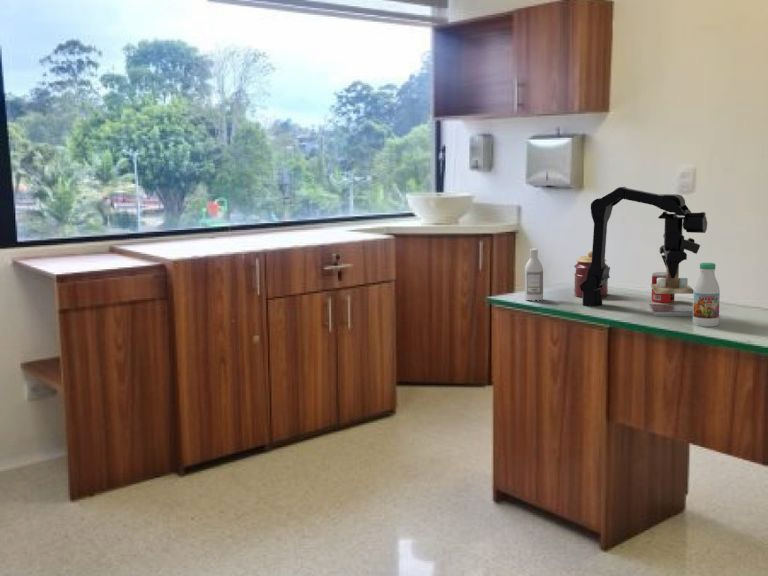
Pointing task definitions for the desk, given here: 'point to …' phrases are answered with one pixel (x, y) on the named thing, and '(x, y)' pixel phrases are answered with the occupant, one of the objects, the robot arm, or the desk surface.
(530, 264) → the bath foam
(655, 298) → the canned food
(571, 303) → the desk surface
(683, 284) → the grey-green round cylinder
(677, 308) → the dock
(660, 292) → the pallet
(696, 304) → the milk bottle
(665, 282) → the white short cylinder
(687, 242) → the robot arm
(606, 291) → the canister
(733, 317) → the desk surface
